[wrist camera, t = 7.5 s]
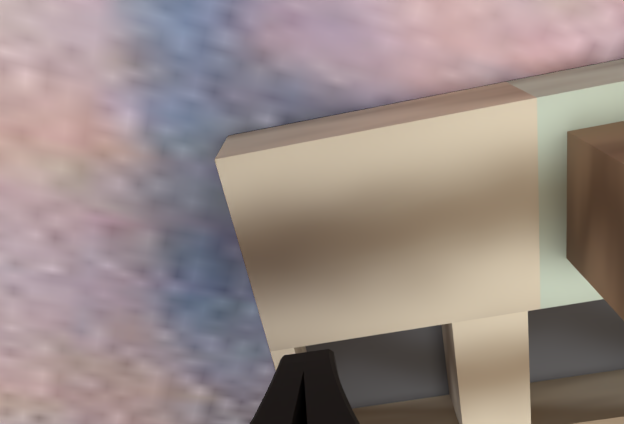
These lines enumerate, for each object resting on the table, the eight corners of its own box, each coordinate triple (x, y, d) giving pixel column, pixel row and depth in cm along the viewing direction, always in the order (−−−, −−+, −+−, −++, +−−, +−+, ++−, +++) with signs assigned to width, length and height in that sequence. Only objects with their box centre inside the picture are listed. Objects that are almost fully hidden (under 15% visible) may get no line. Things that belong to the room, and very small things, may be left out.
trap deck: (661, 374, 25) (737, 460, 21) (307, 425, 27) (305, 516, 22) (696, 44, 19) (818, 63, 14) (228, 135, 20) (203, 179, 16)
